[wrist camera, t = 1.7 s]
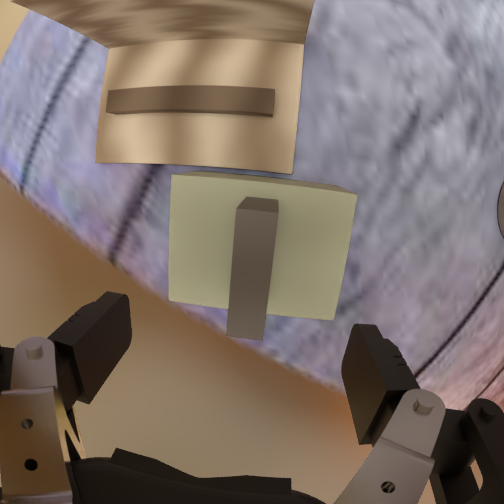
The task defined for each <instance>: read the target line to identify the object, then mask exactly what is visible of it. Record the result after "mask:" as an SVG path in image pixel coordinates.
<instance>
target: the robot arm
mask: <svg viewBox="0 0 504 504" xmlns="http://www.w3.org/2000/svg"><path fill="white" fill-rule="evenodd" d="M498 219H499V226H500V229H501V233H502V235H503V237H504V184H503V187H502V189H501V193H500V197H499V205H498ZM131 338H132V328H131V318H130V306H129V299H128V296H127V295H125V294H120V293H115V292H109V291H107V292H106V293H104V294H103V295H102V296H101V297H100V298H99V299H98V300H97V301H95V302H92V303H89V304H87V305H85V306H83V307H81V308H80V309H79V310H78V311H77V312H76V313H75V314H74V315H72V316H71V317H70V318H69V319H68V321H65V322H64V323H63V324H62V325H61V326H60V327H59V328H58V329H56V331H54V332H53V333H52V334H51V335H50V336H49V337H48V338H44V337H31V338H28V339H25V340H23V341H21V342H20V343H19V344H18V345H17V346H16V347H15V348H8V347H1V346H0V474H1V485H2V487H0V504H326V503H324V502H322V501H320V500H319V499H317V498H315V497H312V496H310V495H308V494H305V493H302V492H299V491H295V490H291V478H274V477H259V476H248V475H244V476H232V477H215V478H197V477H194V476H192V475H189V474H187V473H184V472H182V471H180V470H178V469H175V468H173V467H171V466H169V465H167V464H165V463H163V462H160V461H158V460H156V459H153V458H150V457H146V456H142V455H139V454H135V453H132V452H128V451H125V450H122V449H119V448H116V449H115V451H114V453H113V455H112V457H111V458H109V457H94V458H87V456H86V454H85V450H84V447H83V443H82V439H81V435H80V431H79V426H78V422H77V417H76V412H75V409H74V406H73V405H74V403H75V402H76V400H78V401H81V402H84V403H86V404H90V403H91V401H92V400H93V398H94V397H95V395H96V394H97V392H98V391H99V389H100V388H101V386H102V385H103V384H104V382H105V381H106V379H107V378H108V376H109V375H110V373H111V372H112V371H113V369H114V368H115V366H116V365H117V363H118V362H119V360H120V359H121V358H122V356H123V355H124V353H125V352H126V351H127V349H128V348H129V346H130V343H131ZM402 357H403V356H402V354H401V352H400V351H399V349H398V347H397V346H396V345H394V344H393V343H392V342H391V341H390V340H388V339H384V338H383V337H382V335H381V333H380V331H379V329H378V327H377V326H376V325H372V324H354V326H353V328H352V330H351V334H350V337H349V341H348V344H347V347H346V351H345V354H344V357H343V361H342V369H341V373H342V379H343V382H344V386H345V390H346V394H347V397H348V401H349V405H350V409H351V413H352V417H353V421H354V425H355V429H356V433H357V438H358V442H359V445H363V444H372V446H373V449H372V450H371V452H370V453H369V455H368V457H367V458H366V460H365V461H364V463H363V464H362V466H361V467H360V468H359V470H358V471H357V473H356V474H355V476H354V477H353V478H352V480H351V481H350V483H349V484H348V485H347V487H346V488H345V489H344V491H343V492H342V493H341V495H340V496H339V497H338V499H337V500H336V501H335V502H334V503H333V504H418V502H419V499H420V497H421V495H422V493H423V490H424V488H425V486H426V483H427V481H428V479H430V482H431V486H432V489H433V493H434V497H435V501H436V504H504V413H503V411H502V410H501V408H500V407H499V406H498V405H497V404H496V403H494V402H492V401H490V400H488V399H483V398H478V399H475V400H473V401H471V403H470V404H469V406H468V407H467V409H466V410H465V411H461V410H453V409H446V408H445V404H444V402H443V401H442V400H441V398H440V397H439V396H437V395H436V394H434V393H433V392H430V391H428V390H424V389H420V387H419V385H418V383H417V381H416V379H415V377H414V376H413V374H412V372H411V370H410V368H409V367H408V366H407V363H406V361H405V359H404V358H402ZM475 459H476V461H477V464H478V466H479V469H480V471H481V474H482V476H483V484H482V487H481V489H480V491H479V488H478V485H477V483H476V480H475V477H474V475H473V472H472V470H471V467H470V465H471V463H472V462H474V460H475Z"/></svg>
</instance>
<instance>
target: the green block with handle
mask: <svg viewBox="0 0 504 504" xmlns="http://www.w3.org/2000/svg"><path fill="white" fill-rule="evenodd" d="M356 200H357V194H355V193H353V192H350V191H348V190H346V189H343V188H341V187H339V186H336V185H329V184H322V183H315V182H307V181H299V180H291V179H283V178H274V177H265V176H255V175H245V174H233V173H221V172H208V171H193V172H187V173H180V174H174V175H172V178H171V197H170V221H169V301H175V302H182V303H188V304H195V305H202V306H209V307H216V308H223V309H228V320H227V335H226V336H230V337H238V338H245V339H254V340H262V341H263V334H264V327H265V320H266V314H272V315H281V316H291V317H301V318H312V319H323V320H334V316H335V312H336V307H337V303H338V298H339V294H340V289H341V284H342V280H343V275H344V270H345V265H346V260H347V254H348V249H349V243H350V238H351V232H352V226H353V220H354V214H355V207H356Z"/></svg>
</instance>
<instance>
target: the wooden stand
mask: <svg viewBox="0 0 504 504" xmlns="http://www.w3.org/2000/svg"><path fill="white" fill-rule="evenodd" d="M11 2H14V3H16V4H19V5H21V6H23V7H26V8H28V9H30V10H33V11H35V12H37V13H39V14H42V15H44V16H46V17H48V18H50V19H52V20H54V21H57V22H59V23H61V24H63V25H65V26H67V27H69V28H71V29H73V30H75V31H77V32H79V33H81V34H83V35H85V36H86V37H88V38H90V39H92V40H94V41H96V42H98V43H99V44H101V45H103V46H105V47H107V48H109V52H108V57H107V62H106V68H105V74H104V80H103V87H102V94H101V102H100V110H99V119H98V130H97V143H96V160H95V163H153V164H179V165H197V166H212V167H226V168H238V169H249V170H259V171H269V172H278V173H287V174H292V170H293V161H294V152H295V142H296V132H297V122H298V111H299V100H300V89H301V77H302V65H303V52H304V43H305V38H306V34H307V30H308V26H309V21H310V17H311V13H312V8H313V4H314V0H11Z"/></svg>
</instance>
